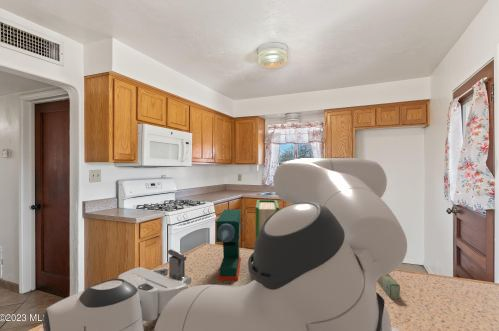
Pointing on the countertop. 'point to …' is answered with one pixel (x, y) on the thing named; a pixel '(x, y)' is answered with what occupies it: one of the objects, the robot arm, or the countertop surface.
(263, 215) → the hardback book
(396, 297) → the medication box
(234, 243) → the power tool
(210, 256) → the countertop surface
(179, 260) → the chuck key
